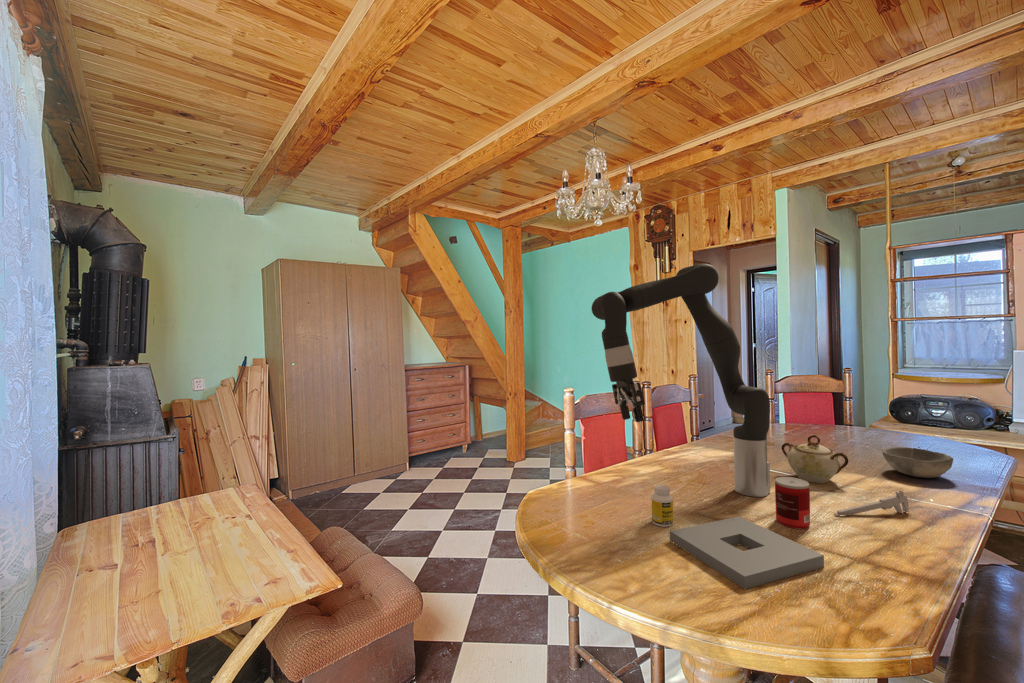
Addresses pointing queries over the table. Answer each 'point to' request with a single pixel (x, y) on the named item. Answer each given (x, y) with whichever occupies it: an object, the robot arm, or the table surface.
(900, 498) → the caliper
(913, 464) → the bowl
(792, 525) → the canned food
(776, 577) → the socket board
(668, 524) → the supplement bottle
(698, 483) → the table surface
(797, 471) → the sugar bowl
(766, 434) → the robot arm
